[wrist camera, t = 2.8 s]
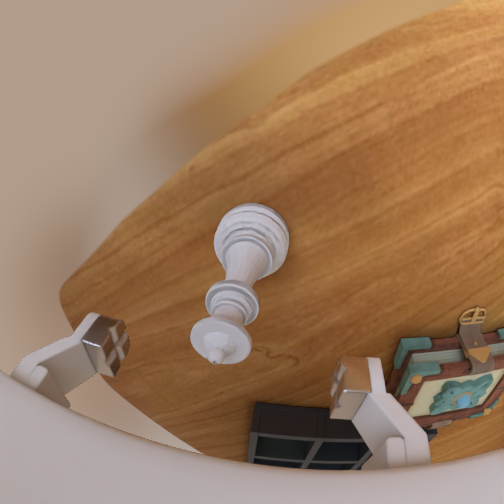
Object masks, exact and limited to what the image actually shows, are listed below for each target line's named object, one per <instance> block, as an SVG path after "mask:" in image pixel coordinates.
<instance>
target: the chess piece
mask: <svg viewBox="0 0 504 504" xmlns="http://www.w3.org/2000/svg"><path fill="white" fill-rule="evenodd" d="M288 247H289V231H288V228H287V225H286V223H285V221H284V220H283V218H282V217H281V216H280V215H279V214H278V213H277V212H276V211H275V210H273V209H271V208H269V207H267V206H265V205H262V204H257V203H245V204H242V205H238V206H236V207H234V208H233V209H231V210H229V211H228V212H227V213H226V214H225V216H224V217H223V218H222V220H221V222H220V224H219V226H218V228H217V231H216V233H215V237H214V248H215V252H216V255H217V257H218V259H219V260H220V262H221V263H222V265H223V267H224V269H225V270H226V278H225V280H222V281H219V282H217V283H215V284H214V285H213V286H212V287H210V289H209V291H208V293H207V295H206V299H205V304H206V309H207V311H208V312H209V314H210V315H211V317H209V318H204V319H202V320H200V321H198V322H197V323H196V324H195V325H194V326H193V328H192V330H191V336H190V340H191V343H192V345H193V347H194V349H195V350H196V351H197V352H198V353H199V354H200V355H202V356H203V357H205V358H206V359H208V360H209V361H210V362H211V363H213V364H233V363H237V362H241V361H242V360H244V359H245V358H246V357H247V356H248V355H249V353H250V351H251V347H252V341H251V338H250V336H249V334H248V332H247V331H246V330H245V329H244V328H243V326H245V325H247V324H250V323H251V322H252V321H254V320H255V318H256V317H257V315H258V312H259V308H260V300H259V298H258V295H257V294H256V292H255V291H254V290H253V289H252V287H253V285H254V283H255V281H256V280H259V279H261V278H263V277H265V276H268V275H270V274H272V273H274V272H275V271H276V270H277V269H279V268H280V267H281V265H282V264H283V262H284V261H285V259H286V255H287V252H288Z"/></svg>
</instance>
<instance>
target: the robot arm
mask: <svg viewBox="0 0 504 504" xmlns="http://www.w3.org/2000/svg"><path fill="white" fill-rule="evenodd" d="M125 329H126V326H125V323H124V321H122V320H118V319H115V318H111V317H108V316H104V315H100V314H97V313H94V312H91V313H89V314H88V315H87V316H86V318H85V319H84V320H83V321H82V323H81V324H80V325H79V326H78V328H77V329H76V330H75V331H74V333H73V334H72V335H71V337H65V338H63V339H61V340H59V341H56V342H54V343H52V344H50V345H48V346H46V347H44V348H41V349H39V350H38V351H35V352H33V353H31V354H29V355H26V356H25V357H24V358H23V359H22V360H21V362H20V363H19V364H18V366H17V367H16V368H15V370H14V371H13V372H12V374H11V375H10V376H9V375H7V374H5V373H4V372H2V371H1V370H0V504H504V448H500V449H497V450H493V451H490V452H486V453H482V454H478V455H474V456H470V457H465V458H461V459H456V460H450V461H445V462H439V463H433V464H432V463H431V456H430V449H429V443H428V437H427V433H426V432H425V431H424V430H423V429H422V428H421V427H420V426H419V425H418V424H417V422H416V421H415V420H414V419H413V418H412V417H411V416H410V415H409V414H408V412H407V411H406V410H405V409H404V408H403V407H402V406H401V405H400V404H399V402H398V401H397V400H396V399H395V398H394V397H393V396H392V395H391V394H390V393H386V387H385V381H384V375H383V370H382V364H381V360H380V358H374V357H357V356H341V355H340V356H339V357H338V359H337V362H336V366H337V368H336V369H334V370H333V373H332V376H331V380H330V395H331V396H332V399H331V402H330V418H331V419H346V420H352V422H353V424H354V425H355V427H356V429H357V430H358V432H359V433H360V435H361V436H362V438H363V440H364V441H365V443H366V444H367V446H368V447H369V449H370V451H371V452H372V454H373V455H372V456H371V457H370V458H369V459H368V460H367V461H366V462H365V463H364V464H363V465H362V466H361V470H314V469H298V468H286V467H276V466H267V465H259V464H252V463H246V462H239V461H234V460H228V459H223V458H218V457H213V456H208V455H203V454H199V453H194V452H190V451H186V450H182V449H178V448H175V447H171V446H168V445H164V444H161V443H158V442H154V441H151V440H148V439H145V438H142V437H139V436H136V435H133V434H130V433H127V432H124V431H122V430H119V429H116V428H114V427H111V426H108V425H106V424H103V423H101V422H98V421H96V420H94V419H91V418H89V417H87V416H84V415H82V414H80V413H77V412H75V411H73V410H71V409H69V407H70V403H69V401H68V400H67V398H66V397H65V396H64V395H65V394H67V393H68V392H70V391H71V390H73V389H74V388H75V387H77V386H79V385H80V384H82V383H83V382H84V381H86V380H87V379H89V378H90V377H92V376H93V375H95V374H96V373H97V372H98V373H101V374H104V375H107V376H111V377H114V376H115V375H116V373H117V371H118V370H119V368H120V366H121V364H120V360H122V359H124V358H125V357H126V356H127V354H128V352H129V348H130V339H129V336H128V335H127V334H126V332H125V331H124V330H125Z"/></svg>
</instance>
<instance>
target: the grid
mask: <svg viewBox="0 0 504 504" xmlns="http://www.w3.org/2000/svg"><path fill="white" fill-rule="evenodd" d="M421 428H422V429H423V430H424V431H425V432H426V433H427V437H428V442H429V441H431V440H432V439H433V438H434V437H435V436H436V435H437V428H435V429H425V427H421ZM372 455H373V454H372V452H371V451H370V449H369V447H368V446H367V444H366V443H365V441H364V440H363V438H362V436H361V435H360V433H359V432H358V430H357V429H356V427H355V425H354V424H353V422H352V420H346V419H331V418H330V409H321V408H307V407H295V406H285V405H275V404H267V403H259V402H255V407H254V413H253V418H252V424H251V430H250V437H249V446H248V455H247V463H252V464H259V465H267V466H276V467H286V468H298V469H314V470H361V466H362V465H363V464H364V463H365V462H366V461H367V460H368V459H369V458H370V457H371V456H372Z"/></svg>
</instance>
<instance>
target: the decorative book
mask: <svg viewBox="0 0 504 504" xmlns="http://www.w3.org/2000/svg"><path fill="white" fill-rule="evenodd" d="M473 311H475V312H474V314H473V317H465V318H463V317H464V316H465V314H467V313H469V312H473ZM479 311H483V312H484V316H478V314H479ZM486 315H487V310H485V309H484V308H480V307H476V308H473V309H468V310H466V311H465V312H463V314H462V315H461V316H460V318H459V322H460V327H459V334H456V335H455V336H454V337H453V338H443V339H431V340H430V338H429V337H419V338H403V339H401V340H400V343H399V346H398V349H397V352H396V355H395V357H394V360H393V362H394V368H393V371H392V373H391V376H390V378H389V381H388V383H387V386H386V393H390V394H391V395H392V396H393V397H394V398H395V399H396V400H397V401H398V402H399V404H400V405H401V406H402V407H403V408H404V409H405V410H406V411H407V412H408V414H409V415H410V416H411V417H412V418H413V419H414V420H415V421H416V422H417V424H418V425H419V426H420V427H425V429H435V428H440V427H446V426H449V425H450V424H451V423H452V422H453V421H457V420H462V419H466V418H469V419H470V418H474V417H478V416H482V415H487V414H489V413H490V411H491V410H492V408H493V407H494V406H495V405H496V403H497V402H498V401H499V399H498V398H499V396H500V395H501V394H502V392H503V391H504V329H498V330H497V332H494V333H487V334H482V333H481V325H482V323H483V322H485V320H484V318H486Z"/></svg>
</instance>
